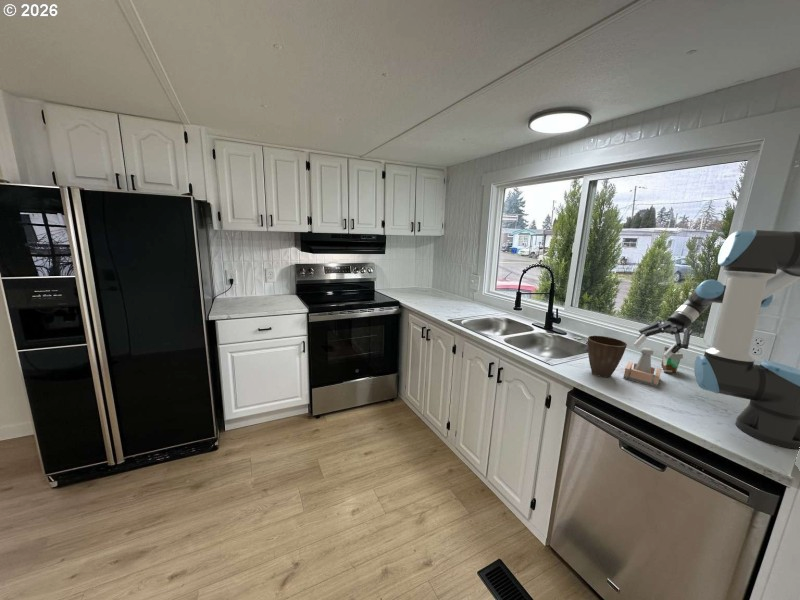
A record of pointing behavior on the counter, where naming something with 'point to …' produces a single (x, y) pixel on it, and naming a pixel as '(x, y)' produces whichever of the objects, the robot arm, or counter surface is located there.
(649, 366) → the salt shaker
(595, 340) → the plant pot
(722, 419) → the counter surface
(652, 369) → the socket board
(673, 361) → the food container
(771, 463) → the counter surface
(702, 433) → the counter surface
